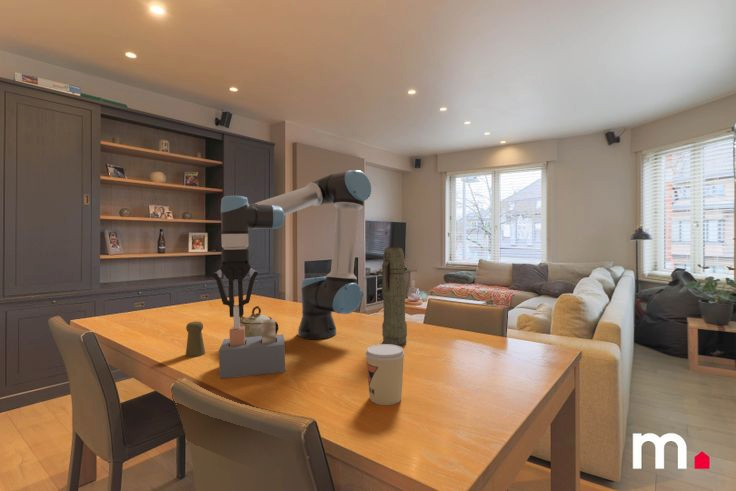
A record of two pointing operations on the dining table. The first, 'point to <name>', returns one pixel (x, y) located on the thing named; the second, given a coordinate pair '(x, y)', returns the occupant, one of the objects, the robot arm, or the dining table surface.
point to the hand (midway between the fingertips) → (236, 327)
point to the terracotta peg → (237, 336)
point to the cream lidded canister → (385, 373)
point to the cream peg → (268, 331)
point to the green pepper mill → (194, 339)
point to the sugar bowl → (254, 323)
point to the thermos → (394, 297)
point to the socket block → (252, 357)
